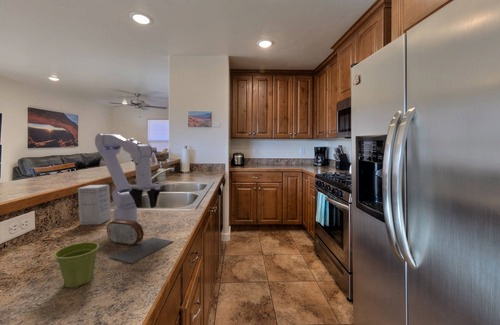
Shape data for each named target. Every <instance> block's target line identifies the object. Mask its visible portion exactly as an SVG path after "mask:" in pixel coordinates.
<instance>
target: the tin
mask: <svg viewBox="0 0 500 325" xmlns="http://www.w3.org/2000/svg"><path fill="white" fill-rule="evenodd" d="M139 223H140V222H138V221H137V222H136V221H131V220H122V219H116V220H114V219H113V220H112V221H110V222H109V223H107V226H106V234H107V237H108V238H109V240H110V241H111V242H112V243H115V244H121V245H128V246H135V245H137V244H139V243H141V242H143V239H144V235H145V234H144V233H145V232H144V229H143V226H142V225H140V224H139Z"/></svg>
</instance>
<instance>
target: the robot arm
mask: <svg viewBox="0 0 500 325" xmlns="http://www.w3.org/2000/svg"><path fill="white" fill-rule="evenodd" d="M94 144H95V148H96V150H97V151H98V154H99V155H101V157H102V159H103V161H104V163H105V167H106V168H107V170H108V172H109V175H110V177H111V179H112V182H113V184H114V187H115V188H114V190H113V191H112V193H111V196H112V203H113V204H114V206H115V208H114V209H113V213H112V214H113V216H112V217H113V221H114V220H116V219H122V220H131V221H136V222H138V208H142V206H143V205H142V204H143V192H144V190H146V194H147V196H148V199H149V206H150V208H151V209H154V208H156V206H157V203H158V198H159V196H160V193H161V191H162V190H161V184H160V183H153V179H152V178H153V177H152V167H151V158H152V156H153V154H154V153H153V151H154V150H153V147H152V145H150V144H149V143H147V144H142V142H140V141H137V140H135V138H133V137H132V138H131V137H130V138H128V139H127V138H125V137H123V135H121V134H119V133H117V134H112V133H97V134H96V136H95V138H94ZM121 149H122V150H123V151H124V152H126V153H128V154H129V155H130V156H131V158H132V162H133V164H134V169H135V181H136V184H130V183H129V182H128V179H127V177H126V175H125V173H124V171H123V168H122V167H121V164H120V162H119V160H118V158H117V155H119V154H120V152H121ZM138 223H139V224H140V225H141V226H142V225H143V223H141V222H138Z"/></svg>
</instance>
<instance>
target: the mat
mask: <svg viewBox="0 0 500 325" xmlns="http://www.w3.org/2000/svg"><path fill="white" fill-rule="evenodd" d="M172 243H174V241H173V240H167V239H164V238H163V239H162V238H158V237H152V236H151V237H150V238H148V239H146V240H144V241H143V240H142V241H140V242H139V243H137V244H135V245H131V247H130V246H129V247H127V248H126V249H124V250H121V251H120V252H118V253H115V254H113V255H111V256H108V259H111V260H115V261H118V262H123V263H126V264H130V265H133V264H135V263H137V262H139V261H141V260H142V259H145V258H146V257H148V256H150V255H152V254H154V253H156V252H158V251H160V250H161V249H163V248H165V247H167V246H168V245H170V244H172Z"/></svg>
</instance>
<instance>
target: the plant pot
mask: <svg viewBox="0 0 500 325" xmlns="http://www.w3.org/2000/svg"><path fill="white" fill-rule="evenodd" d="M99 248H100V244H99V243H98V242H95V241H94V242H93V241H86V242H85V241H84V242H77V243H73V244H70V245H67V246H64V247H61V248H60V249H58V250H56V251H55V253H54V254H53V257H54V258H55V259H56V261H57V263H58V264H59V268H60V271H61V275H62V279H63V284H64V286H65V287H67V288H72V289H73V288H78V287H80V286H82V285H86V284H88V283H90V282H91V281H92V280H93V279H94V275H95V274H94V272H95V264H96V255H97V252H98V249H99Z"/></svg>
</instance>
